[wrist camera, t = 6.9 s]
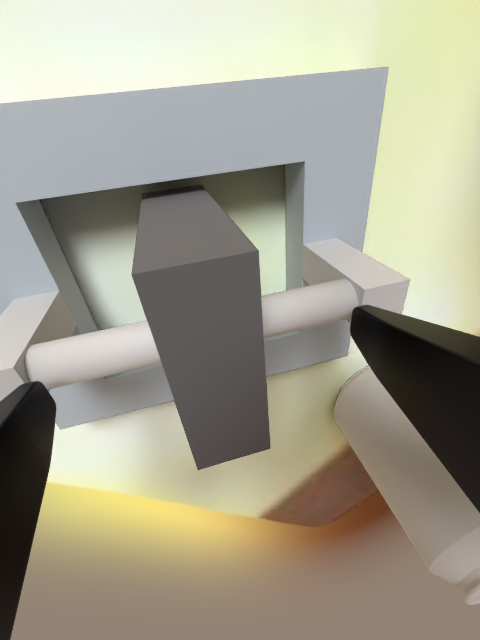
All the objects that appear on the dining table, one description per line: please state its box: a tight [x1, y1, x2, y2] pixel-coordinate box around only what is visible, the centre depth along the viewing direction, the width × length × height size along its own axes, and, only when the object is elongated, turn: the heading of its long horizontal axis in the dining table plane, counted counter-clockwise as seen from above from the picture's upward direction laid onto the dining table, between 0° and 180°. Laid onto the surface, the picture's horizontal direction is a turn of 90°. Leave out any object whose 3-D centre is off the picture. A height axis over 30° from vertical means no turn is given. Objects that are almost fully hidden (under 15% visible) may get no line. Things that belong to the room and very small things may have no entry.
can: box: [333, 366, 480, 605], centre depth 18 cm, size 8×8×12 cm
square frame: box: [0, 67, 410, 430], centre depth 11 cm, size 16×13×6 cm
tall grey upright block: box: [132, 185, 270, 470], centre depth 11 cm, size 2×7×8 cm, turn 6°
